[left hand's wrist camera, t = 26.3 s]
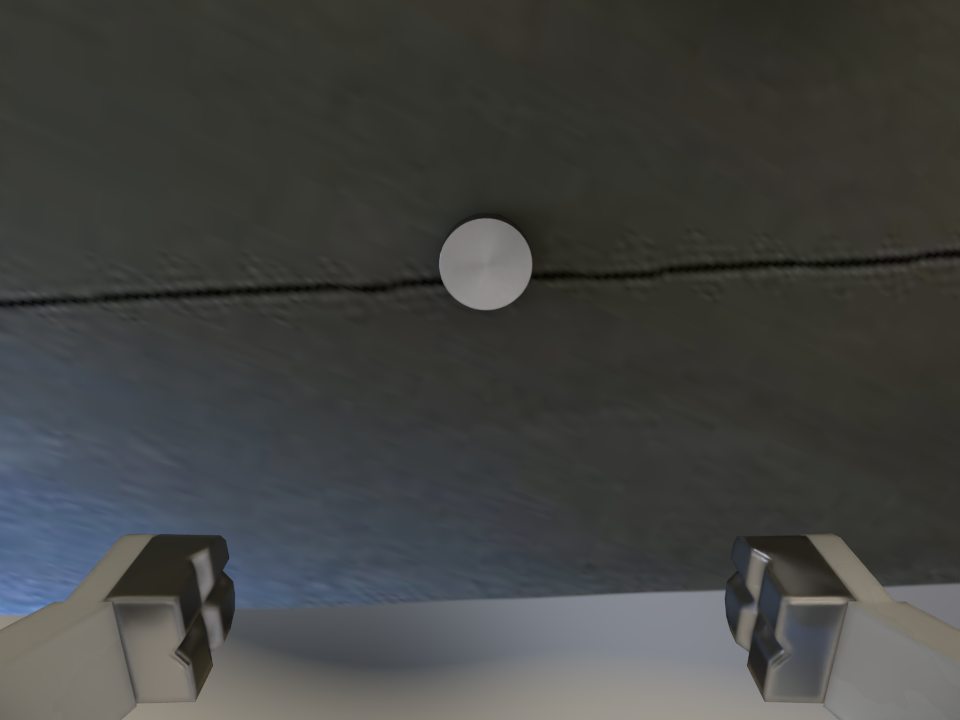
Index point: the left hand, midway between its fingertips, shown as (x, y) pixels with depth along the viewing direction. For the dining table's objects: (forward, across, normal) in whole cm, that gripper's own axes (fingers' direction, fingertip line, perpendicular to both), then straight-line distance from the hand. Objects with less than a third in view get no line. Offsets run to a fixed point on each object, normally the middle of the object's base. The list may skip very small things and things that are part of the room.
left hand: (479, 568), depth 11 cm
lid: (+25, 0, 0) cm, 25 cm away
